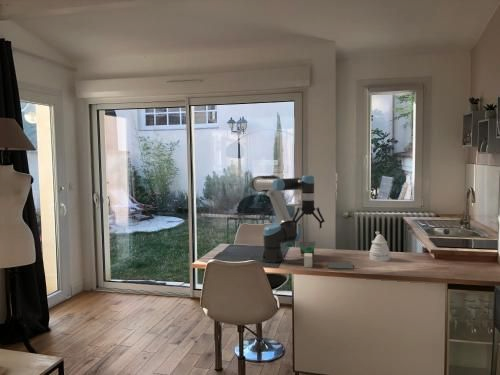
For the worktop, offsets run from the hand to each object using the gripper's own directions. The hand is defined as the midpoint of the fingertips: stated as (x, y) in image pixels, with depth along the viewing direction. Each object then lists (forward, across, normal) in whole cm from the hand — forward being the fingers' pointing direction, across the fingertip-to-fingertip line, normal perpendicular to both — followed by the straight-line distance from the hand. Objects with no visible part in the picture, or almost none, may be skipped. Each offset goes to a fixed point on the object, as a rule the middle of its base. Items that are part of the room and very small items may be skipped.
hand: (308, 233), depth 266 cm
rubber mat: (+20, +20, 0) cm, 29 cm away
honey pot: (+21, +47, +22) cm, 56 cm away
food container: (+21, 0, +25) cm, 33 cm away
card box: (+21, 0, 0) cm, 21 cm away
